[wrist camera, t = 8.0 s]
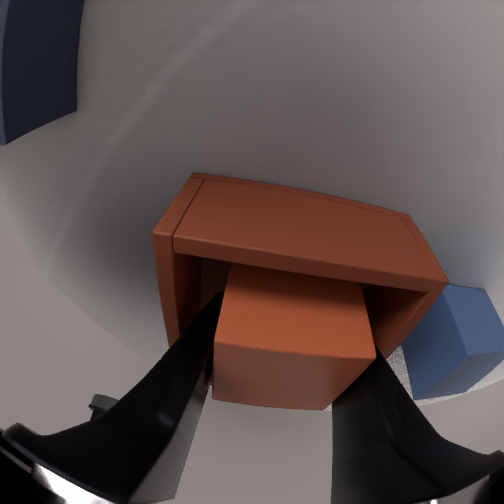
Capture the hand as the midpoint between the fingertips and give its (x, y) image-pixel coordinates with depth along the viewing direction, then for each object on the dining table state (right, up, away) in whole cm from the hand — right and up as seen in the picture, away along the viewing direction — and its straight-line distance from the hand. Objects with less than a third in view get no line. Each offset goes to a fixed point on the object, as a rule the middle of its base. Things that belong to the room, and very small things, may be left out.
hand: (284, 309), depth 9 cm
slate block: (+9, -1, +2) cm, 9 cm away
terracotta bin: (0, +1, +1) cm, 2 cm away
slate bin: (-10, +14, -7) cm, 18 cm away
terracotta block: (0, +1, +1) cm, 1 cm away
